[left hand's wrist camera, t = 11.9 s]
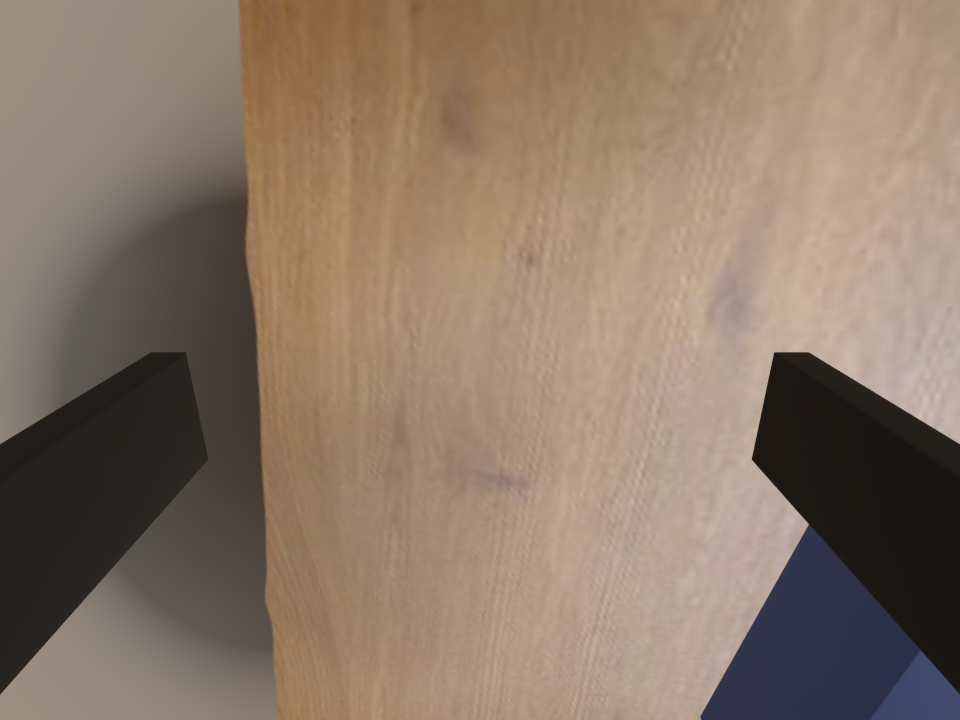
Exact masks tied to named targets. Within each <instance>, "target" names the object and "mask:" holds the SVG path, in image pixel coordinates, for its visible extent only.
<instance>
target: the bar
mask: <svg viewBox="0 0 960 720" xmlns="http://www.w3.org/2000/svg"><path fill="white" fill-rule="evenodd" d="M700 717H701V720H960V694H959V693H958V692H957V691H956V690H955V688H954V687H953V686H952V685H951V684H950V683H949V682H948V681H947V679H946V678H945V677H944V676H943V675H942V674H941V673H940V671H939V670H938V669H937V668H936V667H935V666H934V665H933V664H932V662H931V661H930V660H929V659H928V658H927V657H926V656H925V655H924V653H923V652H922V651H921V650H920V649H919V648H918V647H917V646H916V644H915V643H914V642H913V641H912V640H911V639H910V638H909V636H908V635H907V634H906V633H905V632H904V631H903V630H902V629H901V627H900V626H899V625H898V624H897V623H896V622H895V621H894V620H893V618H892V617H891V616H890V615H889V614H888V613H887V612H886V611H885V609H884V608H883V607H882V606H881V605H880V604H879V603H878V601H877V600H876V599H875V598H874V597H873V596H872V595H871V594H870V592H869V591H868V590H867V589H866V588H865V587H864V586H863V585H862V583H861V582H860V581H859V580H858V579H857V578H856V577H855V576H854V574H853V573H852V572H851V571H850V570H849V569H848V568H847V566H846V565H845V564H844V563H843V562H842V561H841V560H840V559H839V557H838V556H837V555H836V554H835V553H834V552H833V551H832V550H831V548H830V547H829V546H828V545H827V544H826V543H825V542H824V541H823V539H822V538H821V537H820V536H819V535H818V534H817V533H816V531H815V530H814V529H813V528H812V527H811V526H810V525H809V526H808V527H807V529H806V531H805V533H804V534H803V536H802V538H801V540H800V541H799V543H798V545H797V547H796V549H795V550H794V552H793V554H792V556H791V557H790V559H789V561H788V563H787V564H786V566H785V568H784V570H783V572H782V573H781V575H780V577H779V579H778V580H777V582H776V584H775V586H774V587H773V589H772V591H771V593H770V594H769V596H768V598H767V600H766V602H765V603H764V605H763V607H762V609H761V610H760V612H759V614H758V616H757V617H756V619H755V621H754V623H753V625H752V626H751V628H750V630H749V632H748V633H747V635H746V637H745V639H744V640H743V642H742V644H741V646H740V647H739V649H738V651H737V653H736V655H735V656H734V658H733V660H732V662H731V663H730V665H729V667H728V669H727V670H726V672H725V674H724V676H723V678H722V679H721V681H720V683H719V685H718V686H717V688H716V690H715V692H714V693H713V695H712V697H711V699H710V700H709V702H708V704H707V706H706V708H705V709H704V711H703V713H702V715H701V716H700Z"/></svg>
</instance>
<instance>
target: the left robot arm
mask: <svg viewBox="0 0 960 720" xmlns="http://www.w3.org/2000/svg"><path fill="white" fill-rule="evenodd" d="M207 460H208V456H207V452H206V447H205V442H204V437H203V432H202V428H201V423H200V418H199V413H198V409H197V404H196V399H195V394H194V390H193V385H192V380H191V375H190V371H189V366H188V361H187V356H186V353H185V352H152V353H150V354H148V355H146V356H145V357H143V358H141V359H140V360H138V361H137V362H135V363H133V364H132V365H130V366H128V367H127V368H125V369H123V370H122V371H120V372H118V373H117V374H115V375H114V376H112V377H110V378H109V379H107V380H105V381H104V382H102V383H100V384H99V385H97V386H95V387H94V388H92V389H91V390H89V391H87V392H86V393H84V394H82V395H81V396H79V397H77V398H76V399H74V400H72V401H71V402H69V403H67V404H66V405H64V406H62V407H61V408H59V409H58V410H56V411H54V412H53V413H51V414H49V415H48V416H46V417H44V418H43V419H41V420H40V421H38V422H36V423H35V424H33V425H31V426H30V427H28V428H26V429H25V430H23V431H21V432H20V433H18V434H17V435H15V436H13V437H11V438H10V439H8V440H7V441H5V442H3V443H2V444H0V694H1V693H2V692H3V691H4V690H5V688H6V687H7V686H8V685H9V684H10V683H11V682H12V680H13V679H14V678H15V677H16V676H17V675H18V674H19V673H20V671H21V670H22V669H23V668H24V667H25V666H26V665H27V664H28V662H29V661H30V660H31V659H32V658H33V657H34V656H35V654H36V653H37V652H38V651H39V650H40V649H41V648H42V647H43V646H44V644H45V643H46V642H47V641H48V640H49V639H50V638H51V636H52V635H53V634H54V633H55V632H56V631H57V630H58V629H59V627H60V626H61V625H62V624H63V623H64V622H65V621H66V620H67V618H68V617H69V616H70V615H71V614H72V613H73V612H74V610H75V609H76V608H77V607H78V606H79V605H80V604H81V603H82V601H83V600H84V599H85V598H86V597H87V596H88V595H89V594H90V592H91V591H92V590H93V589H94V588H95V587H96V586H97V585H98V583H99V582H100V581H101V580H102V579H103V578H104V577H105V576H106V574H107V573H108V572H109V571H110V570H111V569H112V568H113V566H114V565H115V564H116V563H117V562H118V561H119V560H120V559H121V557H122V556H123V555H124V554H125V553H126V552H127V551H128V550H129V548H130V547H131V546H132V545H133V544H134V543H135V542H136V541H137V539H138V538H139V537H140V536H141V535H142V534H143V533H144V531H145V530H146V529H147V528H148V527H149V526H150V525H151V524H152V522H153V521H154V520H155V519H156V518H157V517H158V516H159V515H160V513H161V512H162V511H163V510H164V509H165V508H166V507H167V506H168V504H169V503H170V502H171V501H172V500H173V499H174V498H175V496H176V495H177V494H178V493H179V492H180V491H181V490H182V489H183V487H184V486H185V485H186V484H187V483H188V482H189V481H190V480H191V478H192V477H193V476H194V475H195V474H196V473H197V472H198V470H199V469H200V468H201V467H202V466H203V465H204V464H205V463H206V461H207ZM752 460H753V461H754V463H755V464H756V465H757V466H758V467H759V468H760V469H761V471H762V472H763V473H764V474H765V475H766V476H767V477H768V478H769V480H770V481H771V482H772V483H773V484H774V485H775V486H776V487H777V489H778V490H779V491H780V492H781V493H782V494H783V495H784V496H785V498H786V499H787V500H788V501H789V502H790V503H791V504H792V506H793V507H794V508H795V509H796V510H797V511H798V512H799V513H800V515H801V516H802V517H803V518H804V519H805V520H806V521H807V522H808V524H809V525H810V526H811V527H812V528H813V529H814V530H815V531H816V533H817V534H818V535H819V536H820V537H821V538H822V539H823V541H824V542H825V543H826V544H827V545H828V546H829V547H830V548H831V550H832V551H833V552H834V553H835V554H836V555H837V556H838V557H839V559H840V560H841V561H842V562H843V563H844V564H845V565H846V566H847V568H848V569H849V570H850V571H851V572H852V573H853V574H854V576H855V577H856V578H857V579H858V580H859V581H860V582H861V583H862V585H863V586H864V587H865V588H866V589H867V590H868V591H869V592H870V594H871V595H872V596H873V597H874V598H875V599H876V600H877V601H878V603H879V604H880V605H881V606H882V607H883V608H884V609H885V611H886V612H887V613H888V614H889V615H890V616H891V617H892V618H893V620H894V621H895V622H896V623H897V624H898V625H899V626H900V627H901V629H902V630H903V631H904V632H905V633H906V634H907V635H908V636H909V638H910V639H911V640H912V641H913V642H914V643H915V644H916V646H917V647H918V648H919V649H920V650H921V651H922V652H923V653H924V655H925V656H926V657H927V658H928V659H929V660H930V661H931V662H932V664H933V665H934V666H935V667H936V668H937V669H938V670H939V671H940V673H941V674H942V675H943V676H944V677H945V678H946V679H947V681H948V682H949V683H950V684H951V685H952V686H953V687H954V688H955V690H956V691H957V692H958V693H959V694H960V444H958V443H957V442H955V441H953V440H952V439H950V438H949V437H947V436H945V435H944V434H942V433H940V432H939V431H937V430H935V429H934V428H932V427H930V426H929V425H927V424H926V423H924V422H922V421H921V420H919V419H917V418H916V417H914V416H912V415H911V414H909V413H907V412H906V411H904V410H902V409H901V408H899V407H898V406H896V405H894V404H893V403H891V402H889V401H888V400H886V399H884V398H883V397H881V396H879V395H878V394H876V393H875V392H873V391H871V390H870V389H868V388H866V387H865V386H863V385H861V384H860V383H858V382H856V381H855V380H853V379H851V378H850V377H848V376H847V375H845V374H843V373H842V372H840V371H838V370H837V369H835V368H833V367H832V366H830V365H828V364H827V363H825V362H824V361H822V360H820V359H819V358H817V357H815V356H814V355H812V354H810V353H809V352H774V356H773V361H772V366H771V370H770V375H769V380H768V385H767V390H766V394H765V399H764V404H763V409H762V413H761V418H760V423H759V428H758V432H757V437H756V442H755V447H754V451H753V456H752Z"/></svg>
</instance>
